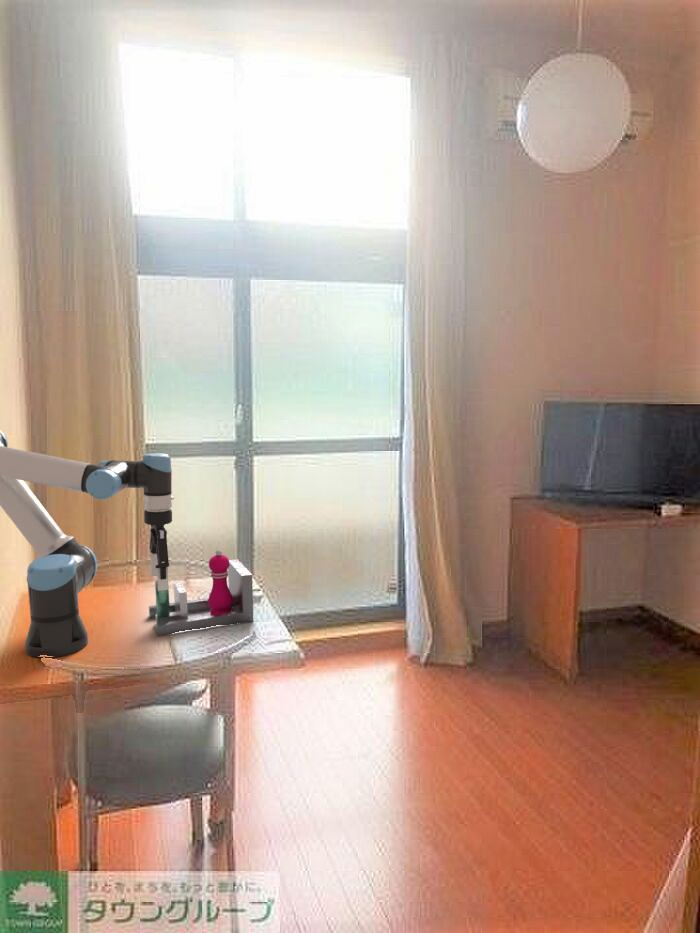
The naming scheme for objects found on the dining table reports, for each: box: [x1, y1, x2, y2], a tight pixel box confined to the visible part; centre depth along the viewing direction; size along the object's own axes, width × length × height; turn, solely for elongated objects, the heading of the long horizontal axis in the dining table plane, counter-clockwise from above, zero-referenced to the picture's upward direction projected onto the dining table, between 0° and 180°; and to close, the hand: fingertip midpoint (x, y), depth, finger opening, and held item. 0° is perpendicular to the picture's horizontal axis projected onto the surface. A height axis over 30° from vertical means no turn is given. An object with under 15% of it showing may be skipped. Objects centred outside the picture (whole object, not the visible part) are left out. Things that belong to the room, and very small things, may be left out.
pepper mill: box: [208, 549, 233, 616], centre depth 198 cm, size 7×7×20 cm
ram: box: [154, 580, 189, 625], centre depth 193 cm, size 8×10×12 cm
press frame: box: [148, 559, 254, 637], centre depth 196 cm, size 27×17×14 cm, turn 113°
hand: (159, 582), depth 191 cm, fingers open, 13 cm apart
